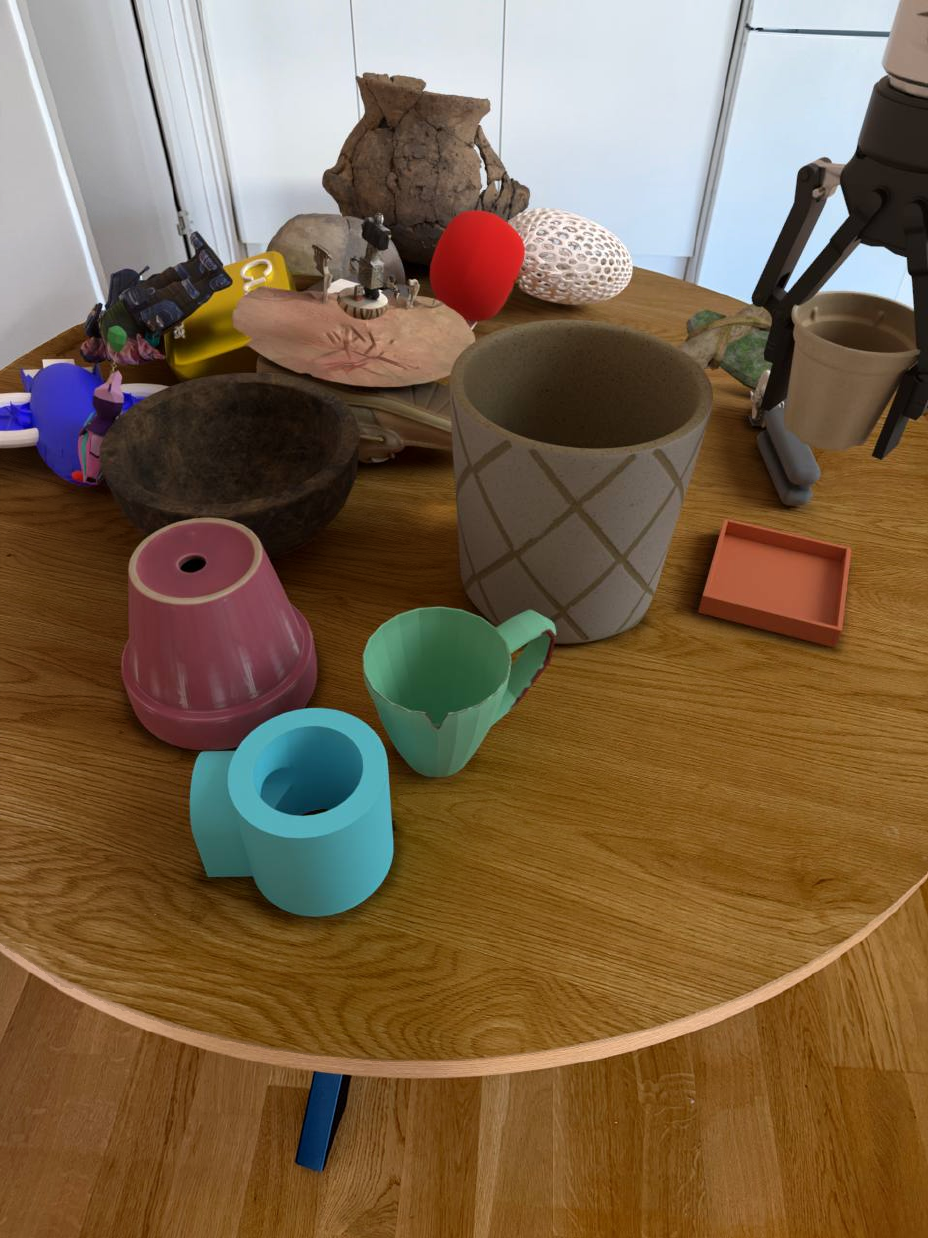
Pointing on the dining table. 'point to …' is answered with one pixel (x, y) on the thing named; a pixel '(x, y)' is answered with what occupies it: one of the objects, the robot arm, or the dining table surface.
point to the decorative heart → (570, 258)
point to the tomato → (476, 264)
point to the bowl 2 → (329, 246)
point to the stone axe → (730, 342)
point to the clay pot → (419, 164)
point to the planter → (572, 469)
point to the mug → (450, 680)
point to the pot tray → (778, 582)
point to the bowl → (235, 457)
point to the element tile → (223, 323)
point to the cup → (298, 811)
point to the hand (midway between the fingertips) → (827, 425)
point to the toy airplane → (58, 412)
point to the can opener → (783, 451)
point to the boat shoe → (388, 413)
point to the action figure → (152, 305)
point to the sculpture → (355, 325)
